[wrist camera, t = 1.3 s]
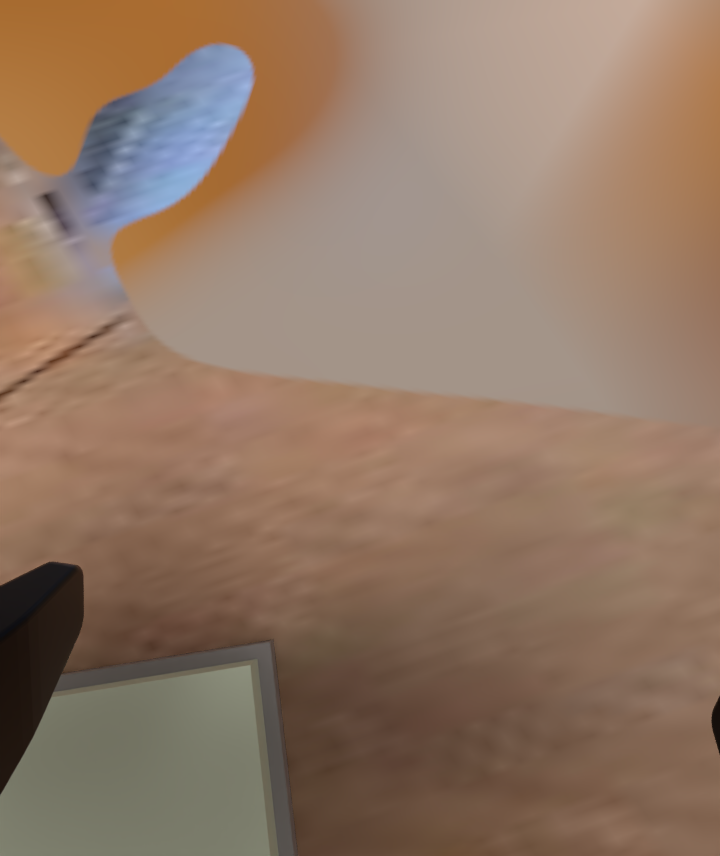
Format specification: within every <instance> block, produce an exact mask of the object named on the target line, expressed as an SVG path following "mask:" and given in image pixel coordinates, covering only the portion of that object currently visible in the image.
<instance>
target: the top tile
mask: <svg viewBox="0 0 720 856" xmlns="http://www.w3.org/2000/svg"><path fill="white" fill-rule="evenodd" d="M0 856H279V854H278V845H277V835H276V826H275V817H274V808H273V798H272V789H271V780H270V771H269V761H268V752H267V743H266V733H265V724H264V715H263V706H262V696H261V687H260V678H259V669H258V659H254V660H248V661H242V662H235V663H229V664H223V665H217V666H211V667H205V668H199V669H192V670H186V671H180V672H174V673H168V674H162V675H156V676H149V677H143V678H137V679H131V680H125V681H119V682H113V683H106V684H100V685H94V686H88V687H82V688H76V689H70V690H63V691H57V692H53V695H52V697H51V699H50V701H49V704H48V706H47V708H46V711H45V713H44V715H43V717H42V720H41V722H40V724H39V726H38V728H37V730H36V732H35V735H34V737H33V739H32V740H31V742H30V744H29V746H28V748H27V750H26V751H25V753H24V755H23V757H22V759H21V760H20V762H19V764H18V766H17V767H16V769H15V771H14V772H13V774H12V776H11V778H10V779H9V781H8V783H7V785H6V786H5V788H4V790H3V792H2V793H1V795H0Z"/></svg>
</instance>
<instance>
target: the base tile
mask: <svg viewBox="0 0 720 856" xmlns="http://www.w3.org/2000/svg"><path fill="white" fill-rule="evenodd" d="M254 659H258V669H259V678H260V687H261V696H262V706H263V715H264V724H265V733H266V743H267V752H268V761H269V771H270V780H271V789H272V798H273V808H274V817H275V826H276V835H277V845H278V854H279V856H298V851H297V842H296V833H295V824H294V816H293V807H292V798H291V789H290V781H289V772H288V763H287V754H286V746H285V737H284V728H283V719H282V710H281V702H280V693H279V684H278V675H277V667H276V658H275V649H274V640H267V641H261V642H255V643H249V644H242V645H236V646H230V647H224V648H217V649H211V650H205V651H199V652H193V653H186V654H180V655H174V656H168V657H161V658H155V659H149V660H143V661H136V662H130V663H124V664H118V665H111V666H105V667H99V668H93V669H87V670H80V671H74V672H68V673H62V674H61V676H60V679H59V681H58V683H57V685H56V688H55V690H54V692H57V691H63V690H70V689H76V688H82V687H88V686H94V685H100V684H106V683H113V682H119V681H125V680H131V679H137V678H143V677H149V676H156V675H162V674H168V673H174V672H180V671H186V670H192V669H199V668H205V667H211V666H217V665H223V664H229V663H235V662H242V661H248V660H254Z"/></svg>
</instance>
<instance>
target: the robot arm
mask: <svg viewBox="0 0 720 856" xmlns="http://www.w3.org/2000/svg"><path fill="white" fill-rule="evenodd" d="M83 617H84V584H83V572H82V569H81V568H80V567H79V566H78V565H73V564H67V563H60V562H48V563H46V564H43V565H41V566H39V567H37V568H35V569H33V570H31V571H29V572H27V573H25V574H23V575H21V576H19V577H17V578H15V579H13V580H11V581H9V582H7V583H5V584H3V585H1V586H0V795H1V793H2V792H3V790H4V788H5V786H6V785H7V783H8V781H9V779H10V778H11V776H12V774H13V772H14V771H15V769H16V767H17V766H18V764H19V762H20V760H21V759H22V757H23V755H24V753H25V751H26V750H27V748H28V746H29V744H30V742H31V740H32V739H33V737H34V735H35V732H36V730H37V728H38V726H39V724H40V722H41V720H42V717H43V715H44V713H45V711H46V708H47V706H48V704H49V701H50V699H51V697H52V695H53V692H54V690H55V688H56V685H57V683H58V681H59V679H60V676H61V674H62V672H63V669H64V667H65V665H66V663H67V660H68V658H69V656H70V654H71V651H72V649H73V647H74V644H75V642H76V640H77V638H78V635H79V633H80V630H81V627H82V623H83ZM712 729H713V733H714V736H715V740H716V743H717V747H718V750H719V754H720V696H719V698H718V700H717V702H716V705H715V707H714V709H713V712H712Z"/></svg>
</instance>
